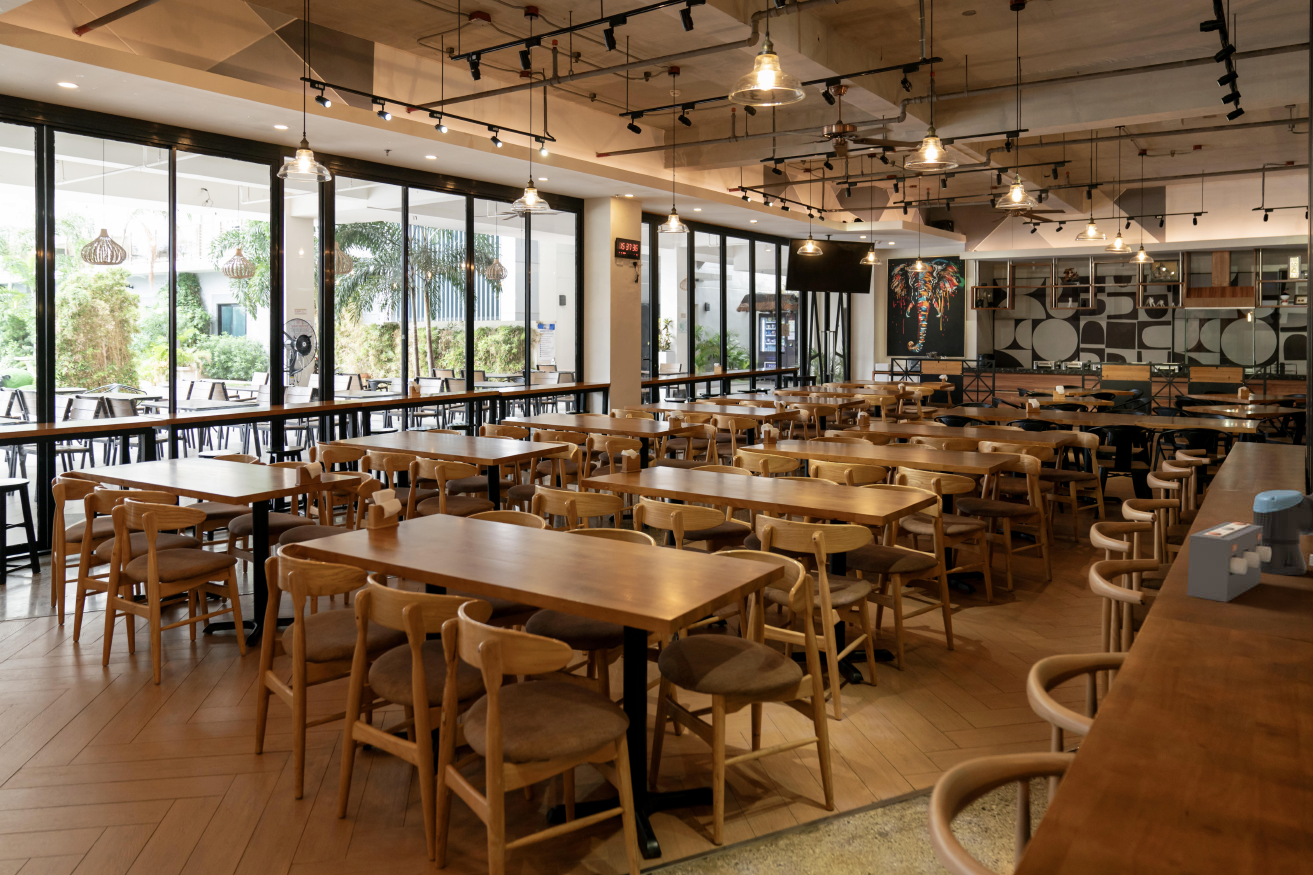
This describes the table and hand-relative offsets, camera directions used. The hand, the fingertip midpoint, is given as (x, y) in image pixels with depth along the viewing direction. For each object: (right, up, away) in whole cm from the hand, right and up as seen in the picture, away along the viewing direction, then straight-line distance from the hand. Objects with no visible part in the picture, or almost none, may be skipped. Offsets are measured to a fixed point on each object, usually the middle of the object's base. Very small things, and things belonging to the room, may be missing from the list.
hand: (1310, 559), depth 236 cm
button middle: (-16, -2, +2) cm, 16 cm away
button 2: (-8, -1, +9) cm, 12 cm away
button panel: (-19, -9, +5) cm, 22 cm away
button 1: (-24, -3, -6) cm, 25 cm away
